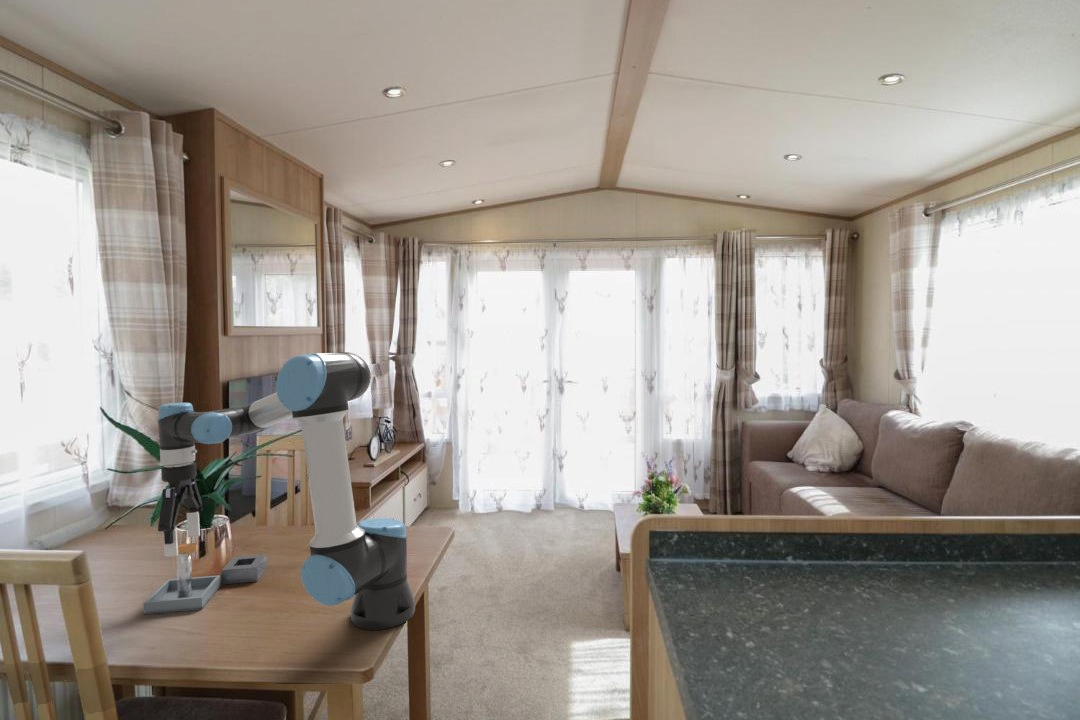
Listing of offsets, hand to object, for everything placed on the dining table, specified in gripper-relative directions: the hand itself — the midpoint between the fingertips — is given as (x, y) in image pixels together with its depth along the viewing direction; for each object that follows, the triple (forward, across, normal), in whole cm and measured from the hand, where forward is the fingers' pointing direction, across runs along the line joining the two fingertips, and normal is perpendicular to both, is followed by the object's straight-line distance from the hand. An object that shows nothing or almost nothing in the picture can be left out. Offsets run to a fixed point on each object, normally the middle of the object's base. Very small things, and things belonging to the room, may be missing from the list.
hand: (183, 545), depth 145 cm
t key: (+14, 0, 0) cm, 14 cm away
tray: (+14, 0, +1) cm, 14 cm away
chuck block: (+14, +12, -10) cm, 22 cm away
